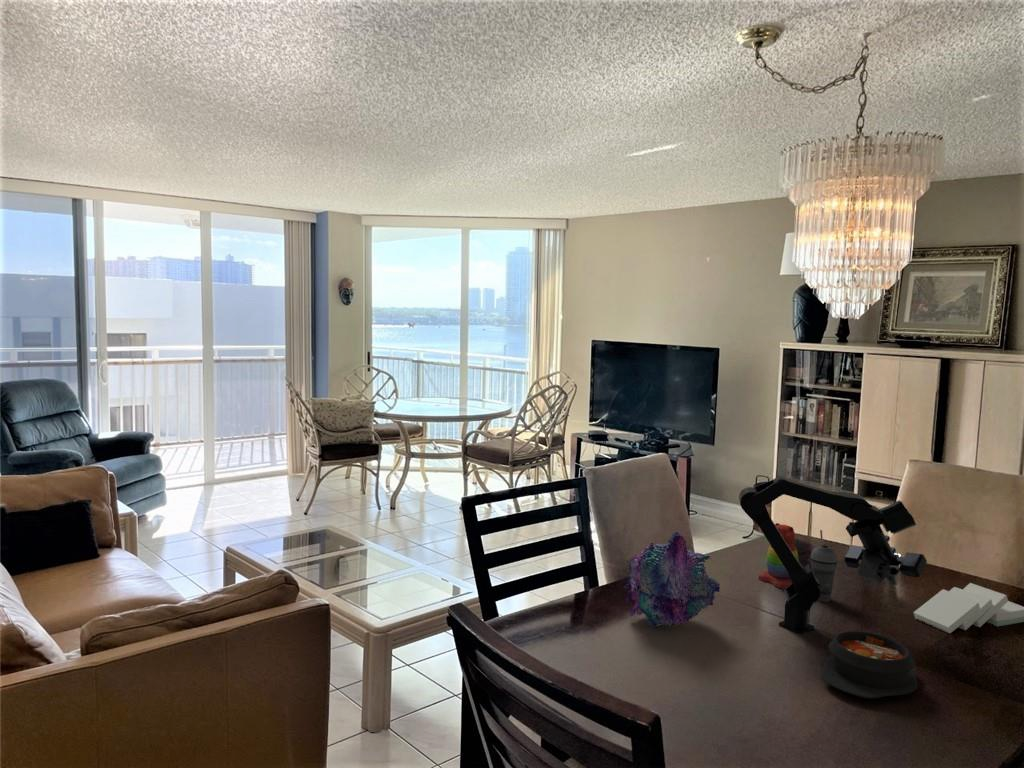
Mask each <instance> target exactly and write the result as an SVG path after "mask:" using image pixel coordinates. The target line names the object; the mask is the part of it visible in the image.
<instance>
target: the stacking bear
mask: <svg viewBox="0 0 1024 768" xmlns="http://www.w3.org/2000/svg"><path fill="white" fill-rule="evenodd" d="M774 524H775V526H776V527H777V529H778V530H779V532H780V533H781V535H782V537H783V538H784V540H785V541H786V543H787V545H788V546H789V548H790V549H791V551H792V552H793V554H794V556H795V557H796V559H797V560H798V562H799V563H800V560H799V559H800V558H799V552H798V549H797V547H796V545H795V544H794V541H795V537H796V535H795V529H794V528H793V526H790V525H787V524H780V523H779V522H776V523H774ZM765 561H766V566H767V571H763V572H760V573H759V574H758V580H760V581H762V580H763V582H766V581H767V583H770V584H772V585H773V586H774V587H775V586H776V587H775V588H778V589H783V590H784V589H785V588H787V587H788V586H789V585H791V584H792V581H791V579H790V576H789V574H788V572H787V570H786V568H785V567H784V565H783V564H782V562H781V561H780V559H779V557H778V556H777V554H776V553H775V551H774V549H773V548H772V546H771V545H770V544H769V546H768V549H767V553H766V559H765Z"/></svg>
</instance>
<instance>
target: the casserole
mask: <svg viewBox="0 0 1024 768" xmlns="http://www.w3.org/2000/svg"><path fill="white" fill-rule="evenodd" d="M827 646H828V651H829V652H830V654H831V655H830V656H828V657H827V658H826V659H825V660H824V661H823V670H822V671H821V673H820V677H821V679H822V681H824V682H825V683H826V684H828V685H829V686H831V687H833V688H835V689H837V690H840V691H841V692H843V693H847V694H850V695H852V696H856V697H859V698H864V699H868V700H869V699H873V700H874V699H879V698H884V697H891V696H904V695H907V694H911V693H913V692H915V691H916V690H917V689H918V687H919V683H918V679H917V673H918V670H917V668H916V667H915V665H916V663H915V660H914V659H913V657H912V655H911V653H910V650H909V649H908V647H906V645H904V644H903V643H901V642H899V641H898V640H895V639H893V638H890V637H888V636H885V635H881V634H878V633H873V632H867V631H857V630H848V631H842V632H838V633H837V634H835V635H834V637H833V639H832V641H830V642H829V643H828V645H827Z"/></svg>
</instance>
